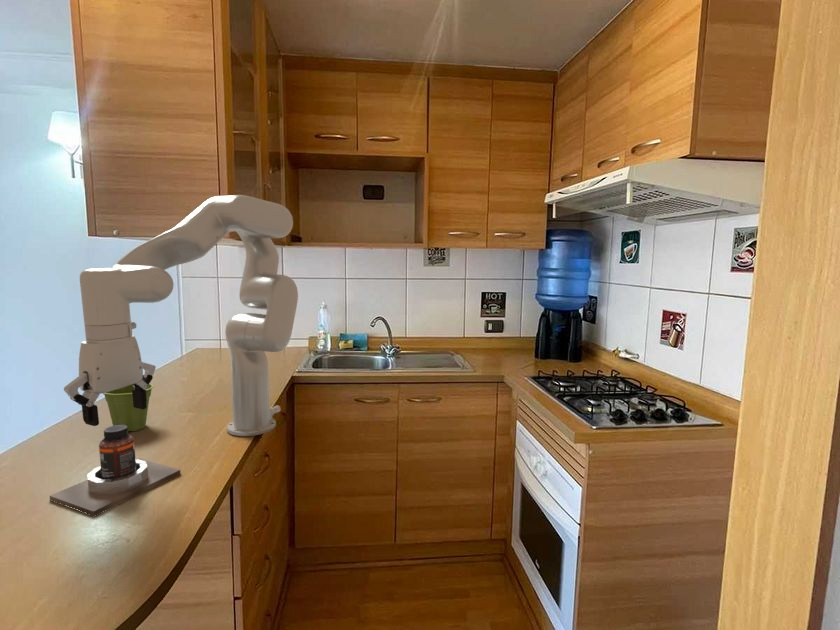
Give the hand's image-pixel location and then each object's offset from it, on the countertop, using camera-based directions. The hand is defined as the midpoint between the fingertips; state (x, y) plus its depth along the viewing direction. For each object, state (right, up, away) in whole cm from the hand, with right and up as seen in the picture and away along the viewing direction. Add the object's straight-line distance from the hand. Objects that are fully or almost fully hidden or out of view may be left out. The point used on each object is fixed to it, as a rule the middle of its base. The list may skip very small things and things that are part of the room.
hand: (117, 415), depth 92 cm
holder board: (0, -15, +1) cm, 15 cm away
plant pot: (-18, -11, +32) cm, 38 cm away
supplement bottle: (0, -14, +1) cm, 14 cm away
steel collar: (0, -15, +1) cm, 15 cm away
